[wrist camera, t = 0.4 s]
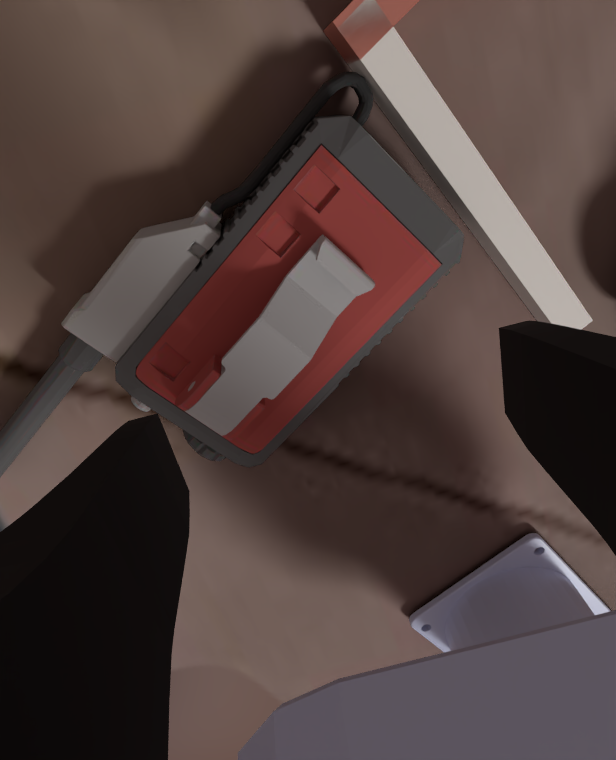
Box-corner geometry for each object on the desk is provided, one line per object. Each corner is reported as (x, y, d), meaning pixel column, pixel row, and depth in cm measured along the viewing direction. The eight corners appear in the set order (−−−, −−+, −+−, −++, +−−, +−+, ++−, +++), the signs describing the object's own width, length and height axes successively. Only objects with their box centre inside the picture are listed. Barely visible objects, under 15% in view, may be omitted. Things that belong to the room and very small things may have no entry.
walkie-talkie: (295, 15, 17) (-33, 447, 22) (312, -13, 13) (-92, 521, 18) (474, 209, 20) (151, 547, 25) (531, 234, 16) (134, 627, 22)
